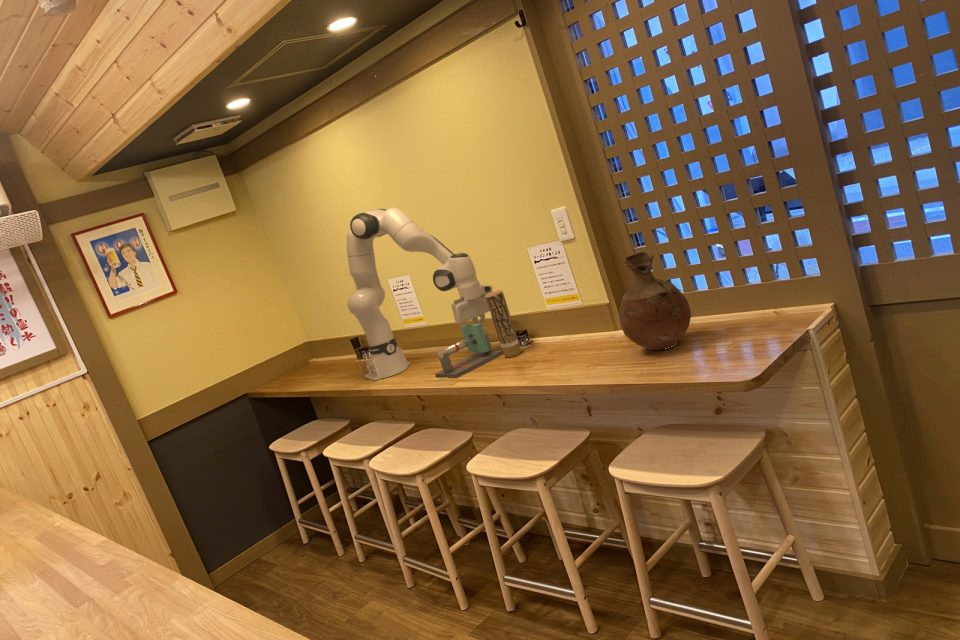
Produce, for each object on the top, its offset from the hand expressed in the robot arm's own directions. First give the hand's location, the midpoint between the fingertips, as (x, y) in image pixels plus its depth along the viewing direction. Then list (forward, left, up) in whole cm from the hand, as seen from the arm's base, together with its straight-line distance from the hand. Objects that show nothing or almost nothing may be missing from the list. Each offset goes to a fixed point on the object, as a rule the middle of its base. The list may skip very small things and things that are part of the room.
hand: (481, 326), depth 285 cm
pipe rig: (0, -11, -10) cm, 15 cm away
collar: (0, -5, -9) cm, 10 cm away
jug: (+80, +7, -12) cm, 82 cm away
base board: (0, -11, -12) cm, 16 cm away
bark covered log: (+14, 0, -12) cm, 19 cm away
